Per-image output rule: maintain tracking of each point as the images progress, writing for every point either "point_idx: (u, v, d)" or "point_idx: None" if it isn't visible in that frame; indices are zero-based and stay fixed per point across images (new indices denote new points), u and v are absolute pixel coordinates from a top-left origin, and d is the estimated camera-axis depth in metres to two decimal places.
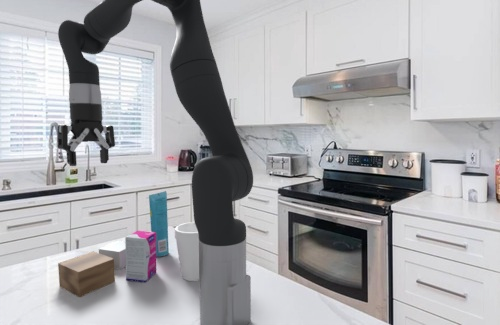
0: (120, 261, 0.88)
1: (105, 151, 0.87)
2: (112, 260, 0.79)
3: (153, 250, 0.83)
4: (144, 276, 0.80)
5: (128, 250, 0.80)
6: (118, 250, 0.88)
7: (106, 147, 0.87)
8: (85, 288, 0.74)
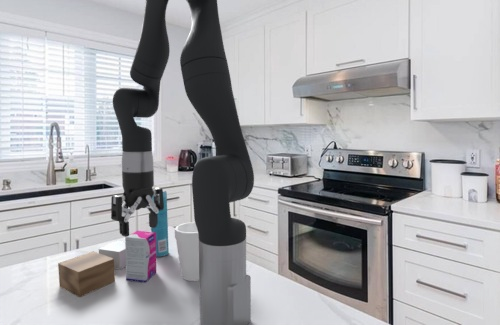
0: (120, 261, 0.88)
1: (155, 215, 0.84)
2: (112, 260, 0.79)
3: (153, 250, 0.83)
4: (144, 276, 0.80)
5: (128, 250, 0.80)
6: (118, 250, 0.88)
7: (156, 211, 0.84)
8: (85, 288, 0.74)
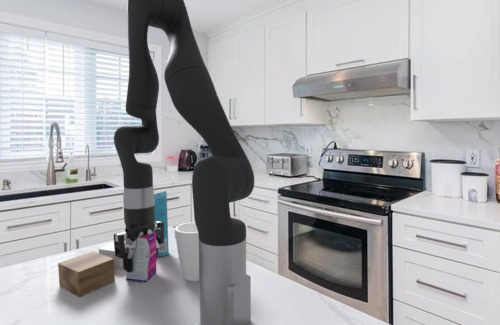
0: (120, 261, 0.88)
1: None
2: (112, 260, 0.79)
3: (153, 250, 0.83)
4: (144, 276, 0.80)
5: (128, 250, 0.80)
6: None
7: (156, 246, 0.85)
8: (85, 288, 0.74)
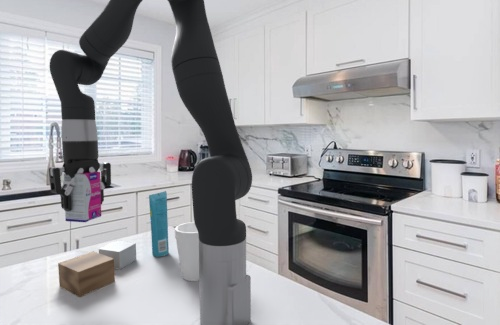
0: (120, 261, 0.88)
1: None
2: (112, 260, 0.79)
3: (97, 190, 0.77)
4: (83, 215, 0.74)
5: None
6: (118, 250, 0.88)
7: (101, 187, 0.79)
8: (85, 288, 0.74)
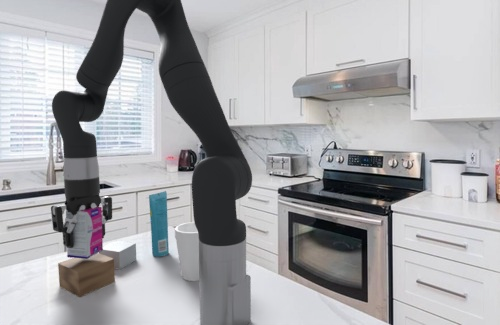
0: (120, 261, 0.88)
1: None
2: (112, 260, 0.79)
3: (98, 225, 0.78)
4: (85, 252, 0.75)
5: None
6: (118, 250, 0.88)
7: (102, 222, 0.80)
8: (85, 288, 0.74)
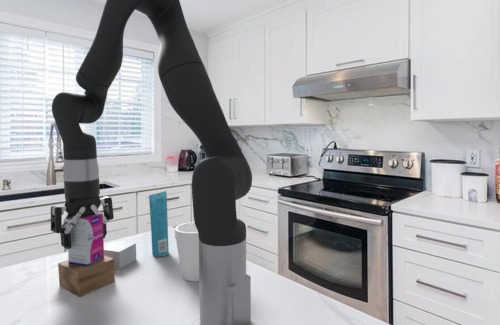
0: (120, 261, 0.88)
1: (103, 226, 0.81)
2: (112, 260, 0.79)
3: (99, 232, 0.78)
4: (85, 260, 0.75)
5: (70, 232, 0.75)
6: (118, 250, 0.88)
7: (104, 221, 0.81)
8: (85, 288, 0.74)
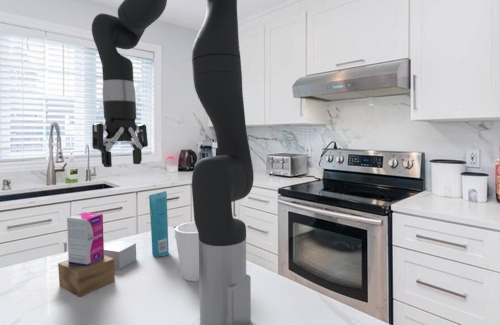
0: (120, 261, 0.88)
1: (138, 151, 0.83)
2: (112, 260, 0.79)
3: (99, 232, 0.78)
4: (85, 260, 0.75)
5: (70, 232, 0.75)
6: (118, 250, 0.88)
7: (139, 147, 0.83)
8: (85, 288, 0.74)
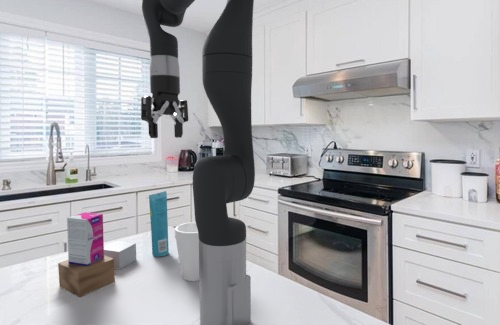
0: (120, 261, 0.88)
1: (180, 125, 0.88)
2: (112, 260, 0.79)
3: (99, 232, 0.78)
4: (85, 260, 0.75)
5: (70, 232, 0.75)
6: (118, 250, 0.88)
7: (181, 121, 0.88)
8: (85, 288, 0.74)
